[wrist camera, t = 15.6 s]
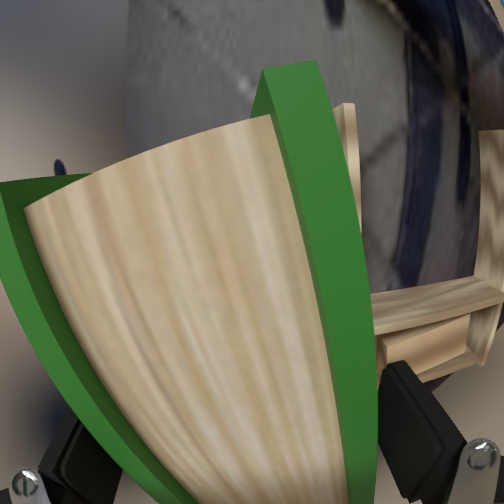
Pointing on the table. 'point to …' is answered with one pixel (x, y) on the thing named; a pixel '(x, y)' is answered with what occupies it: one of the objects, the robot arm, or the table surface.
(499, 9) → the book
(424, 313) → the rack
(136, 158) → the hardback book
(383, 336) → the oak offcut
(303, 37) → the table surface
